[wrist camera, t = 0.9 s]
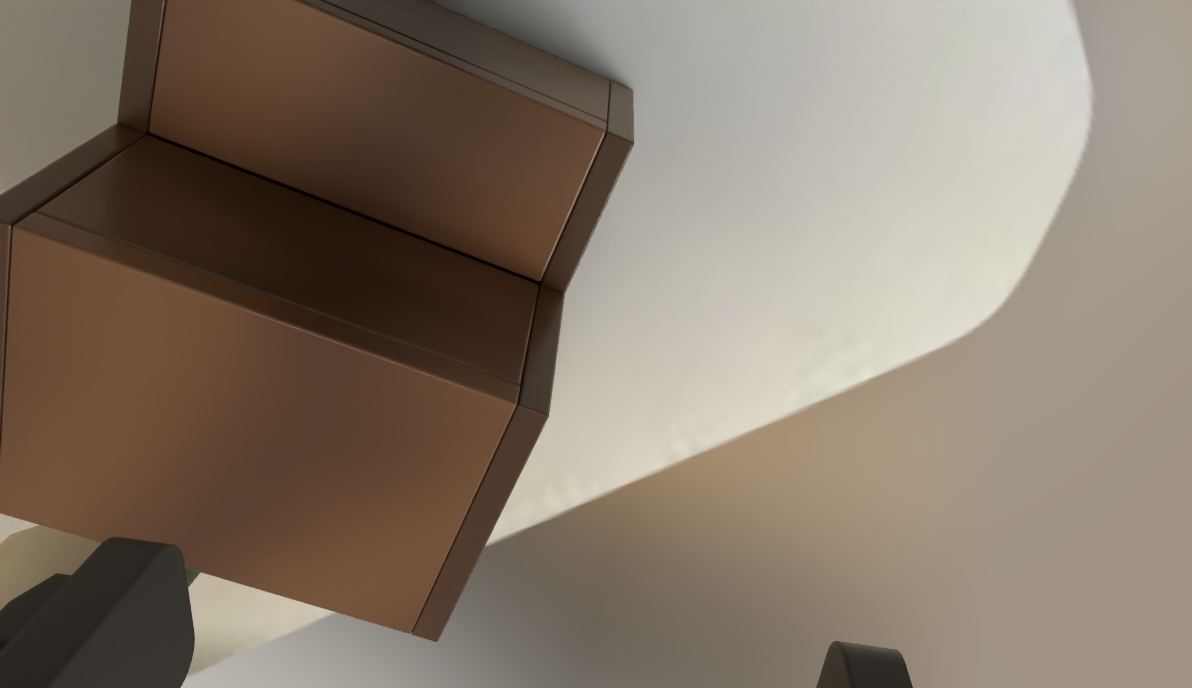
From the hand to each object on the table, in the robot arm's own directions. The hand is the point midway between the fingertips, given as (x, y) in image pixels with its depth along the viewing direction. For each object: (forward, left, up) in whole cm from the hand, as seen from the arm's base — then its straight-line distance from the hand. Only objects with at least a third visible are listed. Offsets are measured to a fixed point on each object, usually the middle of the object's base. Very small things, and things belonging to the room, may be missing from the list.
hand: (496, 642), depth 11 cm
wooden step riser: (-5, -5, -20) cm, 22 cm away
